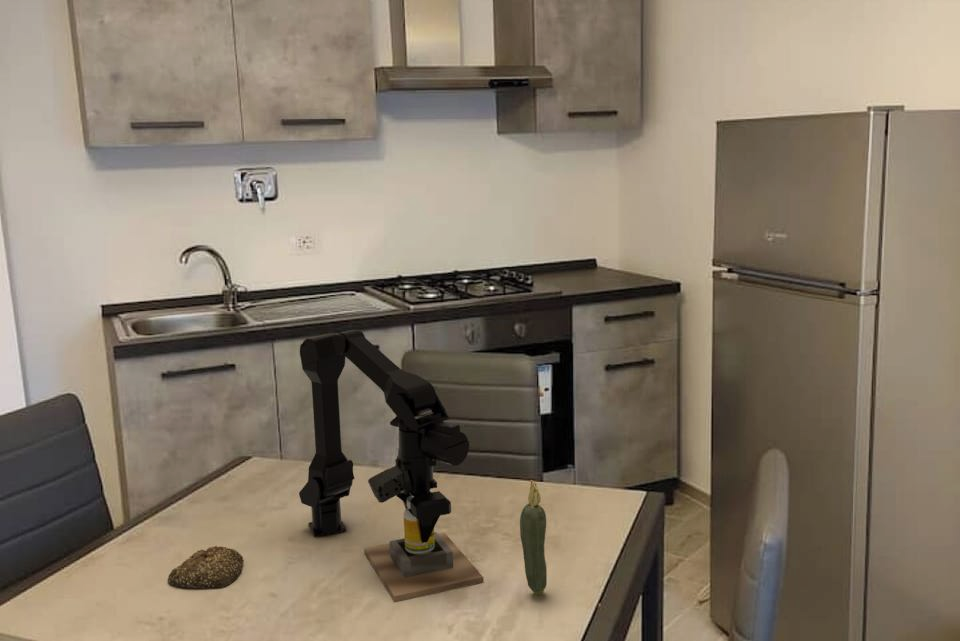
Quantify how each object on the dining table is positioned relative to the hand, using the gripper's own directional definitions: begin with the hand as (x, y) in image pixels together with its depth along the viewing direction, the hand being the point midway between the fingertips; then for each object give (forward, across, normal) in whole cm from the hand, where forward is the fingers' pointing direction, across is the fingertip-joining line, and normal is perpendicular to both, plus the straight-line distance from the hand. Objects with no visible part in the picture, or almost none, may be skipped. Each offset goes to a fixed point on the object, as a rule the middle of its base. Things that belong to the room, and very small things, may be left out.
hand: (419, 535), depth 157 cm
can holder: (+6, 0, 0) cm, 6 cm away
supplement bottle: (+3, 0, 0) cm, 3 cm away
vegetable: (+6, +18, +14) cm, 24 cm away
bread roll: (+7, -14, -35) cm, 39 cm away
